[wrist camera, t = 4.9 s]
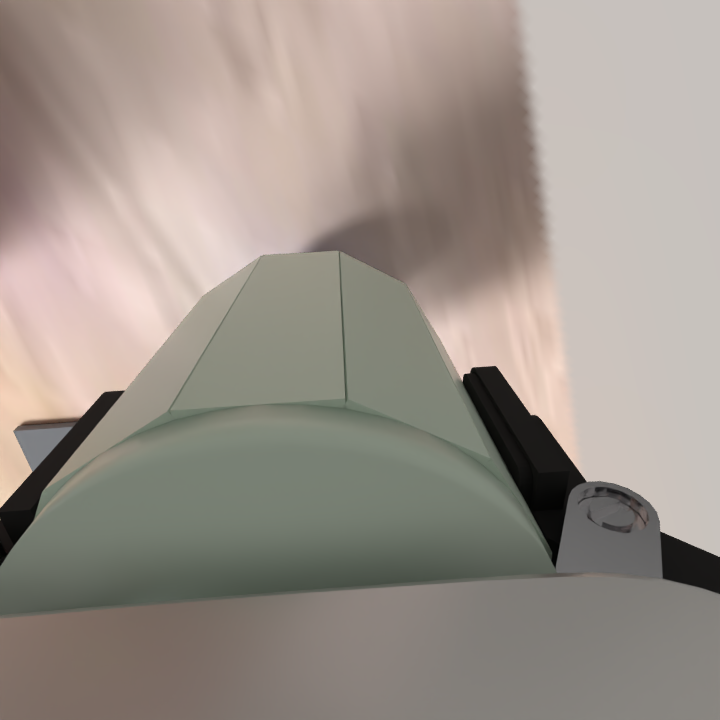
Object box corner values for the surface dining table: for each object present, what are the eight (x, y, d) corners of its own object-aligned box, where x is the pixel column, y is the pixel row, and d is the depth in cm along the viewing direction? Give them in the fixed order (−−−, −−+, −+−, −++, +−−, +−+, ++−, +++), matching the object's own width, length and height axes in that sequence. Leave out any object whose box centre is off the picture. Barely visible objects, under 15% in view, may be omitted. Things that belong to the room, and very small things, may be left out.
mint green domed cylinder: (436, 470, 16) (534, 789, 8) (210, 486, 15) (90, 830, 8) (443, 244, 12) (624, 420, 5) (155, 261, 12) (-149, 473, 4)
